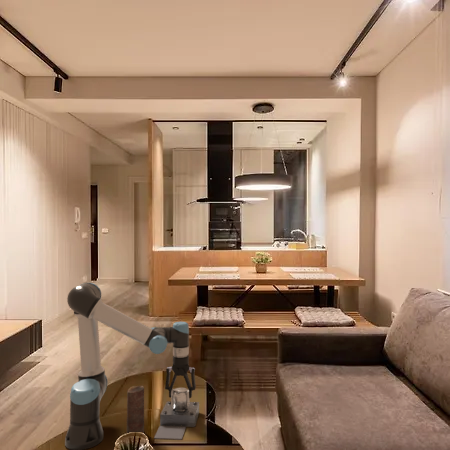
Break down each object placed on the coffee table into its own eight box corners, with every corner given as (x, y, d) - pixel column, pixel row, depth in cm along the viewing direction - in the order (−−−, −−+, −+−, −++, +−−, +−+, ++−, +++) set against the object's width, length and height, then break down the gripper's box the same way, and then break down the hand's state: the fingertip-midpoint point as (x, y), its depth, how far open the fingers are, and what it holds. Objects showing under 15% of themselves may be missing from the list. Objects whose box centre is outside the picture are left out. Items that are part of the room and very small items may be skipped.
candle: (139, 440, 153) (139, 391, 154) (123, 438, 155) (124, 390, 156) (146, 430, 161) (147, 384, 162) (131, 429, 162) (132, 383, 163)
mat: (153, 438, 154) (153, 437, 154) (159, 426, 164) (159, 426, 164) (181, 439, 153) (181, 438, 153) (185, 427, 163) (185, 426, 163)
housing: (160, 425, 165) (160, 413, 165) (166, 411, 179) (167, 400, 179) (194, 426, 164) (194, 414, 164) (199, 412, 178) (199, 401, 178)
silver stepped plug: (171, 422, 168) (171, 393, 169) (174, 414, 175) (174, 387, 176) (186, 422, 168) (186, 393, 168) (188, 415, 175) (188, 387, 175)
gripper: (158, 357, 170) (157, 407, 169) (200, 358, 169) (200, 408, 167) (162, 352, 177) (161, 400, 176) (202, 353, 176) (202, 401, 175)
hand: (180, 404), depth 172 cm, fingers closed on silver stepped plug, 7 cm apart
